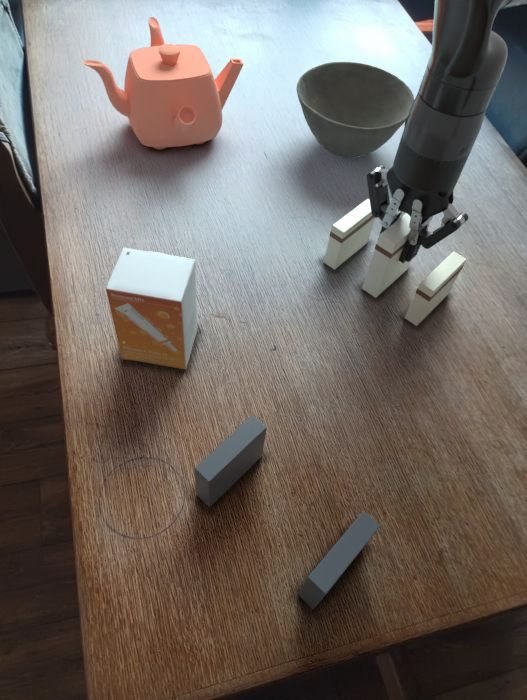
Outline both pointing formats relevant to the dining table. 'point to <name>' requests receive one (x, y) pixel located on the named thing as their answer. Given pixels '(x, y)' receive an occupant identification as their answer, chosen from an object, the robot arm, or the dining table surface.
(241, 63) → the teapot
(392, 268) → the white box
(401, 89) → the bowl
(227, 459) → the grey parallel blocks
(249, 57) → the dining table surface
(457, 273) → the cream books
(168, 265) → the small box
